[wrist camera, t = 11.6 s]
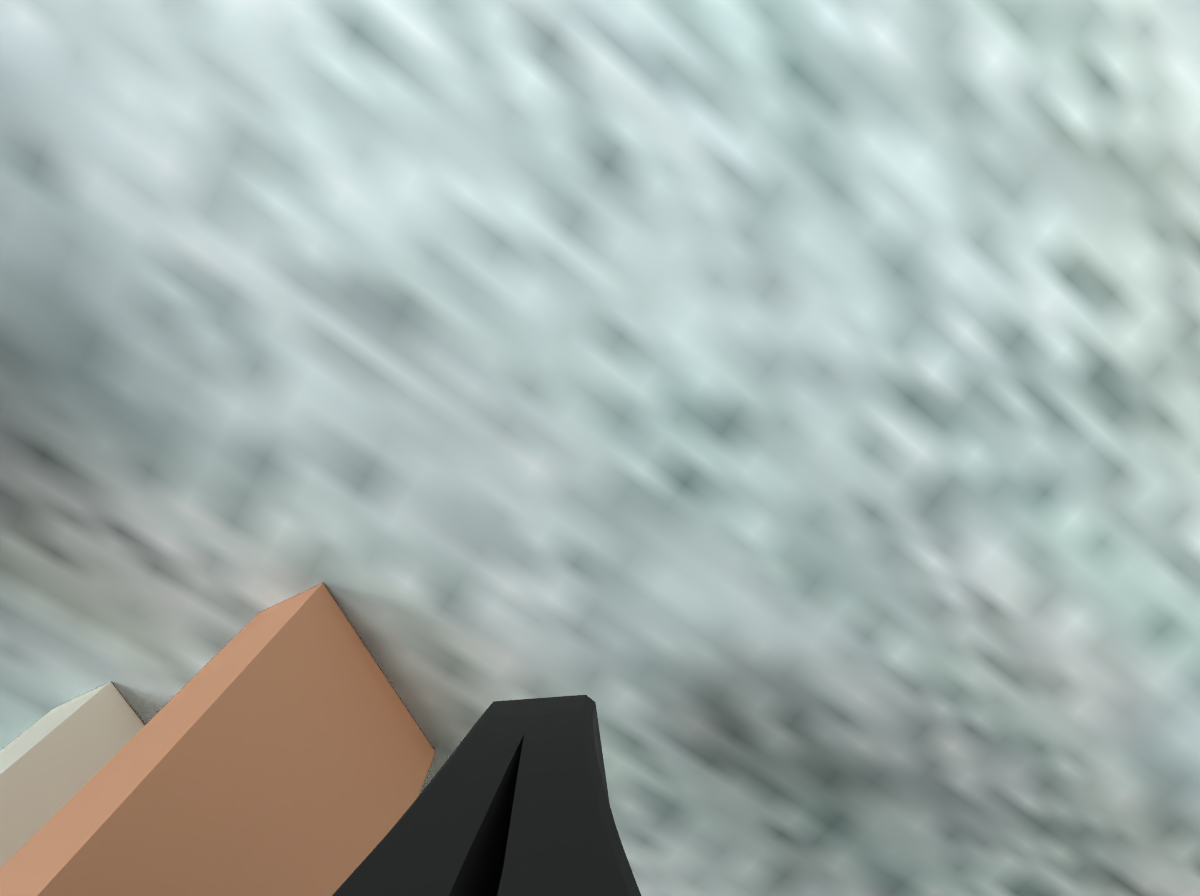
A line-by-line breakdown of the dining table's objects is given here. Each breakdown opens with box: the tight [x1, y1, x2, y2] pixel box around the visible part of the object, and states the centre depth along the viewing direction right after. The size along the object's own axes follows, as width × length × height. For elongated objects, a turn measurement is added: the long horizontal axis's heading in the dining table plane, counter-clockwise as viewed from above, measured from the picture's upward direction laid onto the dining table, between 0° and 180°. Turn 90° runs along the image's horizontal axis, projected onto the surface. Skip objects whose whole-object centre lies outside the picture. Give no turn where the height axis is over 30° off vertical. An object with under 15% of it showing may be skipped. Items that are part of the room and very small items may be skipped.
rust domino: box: [0, 583, 435, 896], centre depth 11 cm, size 2×4×8 cm, turn 27°
